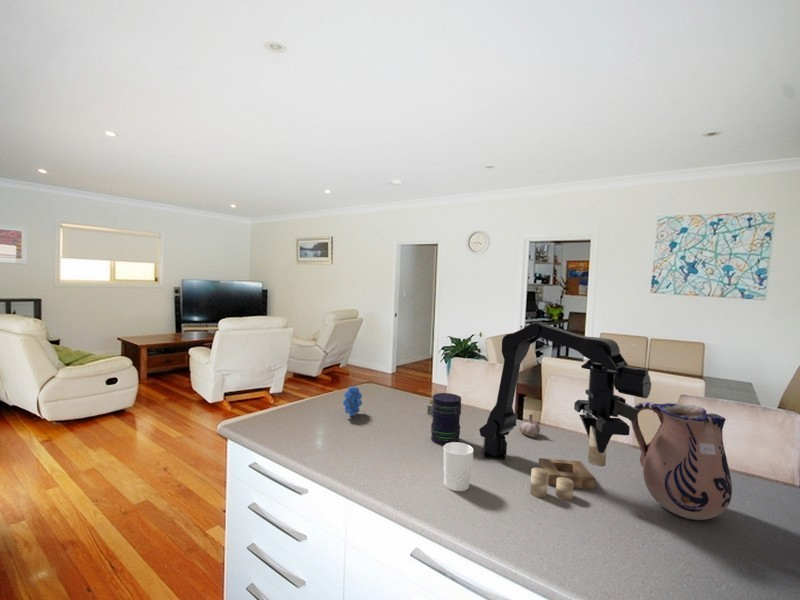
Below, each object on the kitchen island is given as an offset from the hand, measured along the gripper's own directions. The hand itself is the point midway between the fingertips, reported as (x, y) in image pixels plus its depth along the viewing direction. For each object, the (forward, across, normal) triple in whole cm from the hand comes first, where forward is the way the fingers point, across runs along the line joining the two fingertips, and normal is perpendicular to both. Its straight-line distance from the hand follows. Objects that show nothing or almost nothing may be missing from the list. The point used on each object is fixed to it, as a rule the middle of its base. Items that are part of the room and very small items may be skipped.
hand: (597, 449), depth 100 cm
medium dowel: (+13, 0, +14) cm, 19 cm away
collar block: (+13, +10, +4) cm, 17 cm away
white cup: (+13, +1, +35) cm, 37 cm away
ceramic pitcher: (+13, -1, -19) cm, 23 cm away
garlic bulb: (+13, +42, +6) cm, 44 cm away
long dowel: (+4, 0, 0) cm, 4 cm away
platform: (+13, +56, +40) cm, 70 cm away
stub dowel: (+13, 0, +8) cm, 15 cm away
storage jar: (+13, +31, +37) cm, 50 cm away
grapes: (+13, +48, +72) cm, 88 cm away
